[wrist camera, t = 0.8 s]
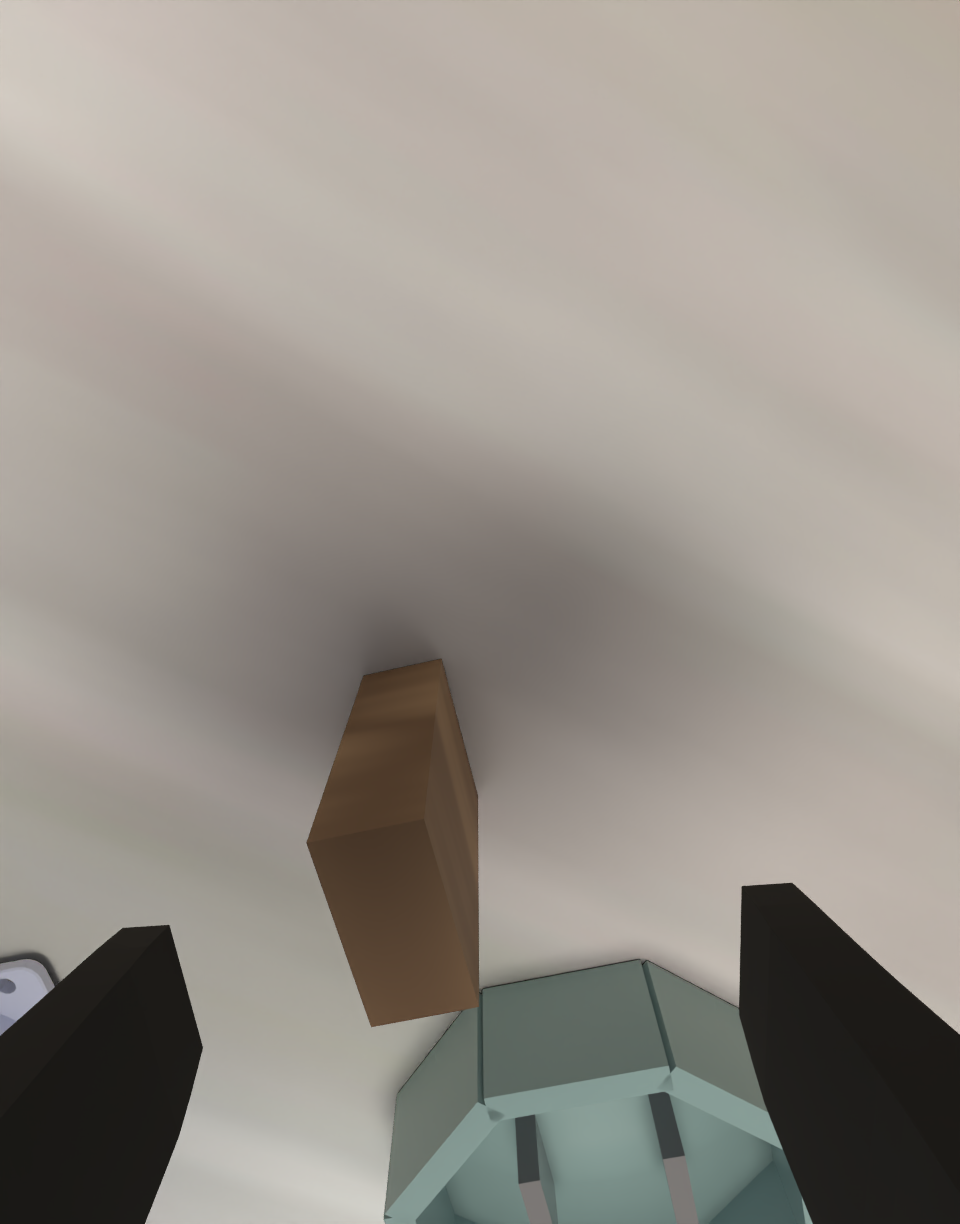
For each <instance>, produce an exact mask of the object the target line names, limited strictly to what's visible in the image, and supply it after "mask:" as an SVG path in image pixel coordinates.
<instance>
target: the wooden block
mask: <svg viewBox="0 0 960 1224" xmlns="http://www.w3.org/2000/svg"><path fill="white" fill-rule="evenodd" d="M307 846H308V849H309V852H310V854H311V857H312V860H313V863H314V866H315V869H316V871H317V874H318V877H319V880H320V883H321V886H322V888H323V891H324V894H325V897H326V900H327V903H328V905H329V908H330V911H331V914H332V917H333V920H334V923H335V925H336V928H337V931H338V934H339V937H340V940H341V942H342V945H343V948H344V951H345V954H346V957H347V959H348V962H349V965H350V968H351V971H352V974H353V977H354V979H355V982H356V985H357V988H358V991H359V994H360V996H361V999H362V1002H363V1005H364V1008H365V1011H366V1013H367V1016H368V1019H369V1022H370V1025H371V1027H374V1026H380V1025H385V1024H390V1023H396V1022H401V1021H407V1020H412V1019H417V1018H423V1017H428V1016H433V1015H439V1014H444V1013H449V1012H455V1011H460V1010H466V1009H471V1008H476V1007H479V902H478V795H477V791H476V787H475V783H474V780H473V776H472V772H471V768H470V765H469V761H468V757H467V753H466V749H465V746H464V742H463V738H462V734H461V731H460V727H459V723H458V719H457V716H456V712H455V708H454V704H453V700H452V697H451V693H450V689H449V685H448V682H447V678H446V674H445V670H444V666H443V663H442V659H438V660H433V661H429V662H424V663H420V664H415V665H410V666H406V667H401V668H396V669H392V670H387V671H383V672H378V673H373V674H369V675H364V676H363V679H362V681H361V684H360V687H359V690H358V693H357V696H356V699H355V702H354V705H353V708H352V711H351V714H350V717H349V720H348V723H347V725H346V728H345V731H344V734H343V737H342V740H341V743H340V746H339V749H338V752H337V755H336V758H335V761H334V764H333V767H332V769H331V772H330V775H329V778H328V781H327V784H326V787H325V790H324V793H323V796H322V799H321V802H320V805H319V808H318V810H317V813H316V816H315V819H314V822H313V825H312V828H311V831H310V834H309V837H308V840H307Z"/></svg>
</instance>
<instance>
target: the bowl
mask: <svg viewBox="0 0 960 1224" xmlns="http://www.w3.org/2000/svg"><path fill="white" fill-rule="evenodd" d="M384 1222H385V1224H813V1223H812V1221H811V1218H810V1216H809V1213H808V1211H807V1208H806V1206H805V1203H804V1201H803V1198H802V1196H801V1193H800V1191H799V1189H798V1186H797V1184H796V1181H795V1179H794V1176H793V1174H792V1171H791V1169H790V1166H789V1164H788V1161H787V1159H786V1156H785V1154H784V1151H783V1149H782V1146H781V1144H780V1141H779V1139H778V1136H777V1134H776V1131H775V1129H774V1126H773V1124H772V1121H771V1119H770V1116H769V1114H768V1111H767V1108H766V1106H765V1103H764V1100H763V1097H762V1094H761V1090H760V1087H759V1083H758V1080H757V1077H756V1073H755V1070H754V1067H753V1063H752V1060H751V1056H750V1053H749V1049H748V1045H747V1042H746V1038H745V1035H744V1031H743V1027H742V1024H741V1020H740V1017H739V1009H738V1008H737V1007H735V1006H733V1005H731V1004H729V1003H727V1002H725V1001H723V1000H721V999H719V998H717V997H716V996H714V995H712V994H710V993H708V992H706V991H704V990H702V989H700V988H698V987H696V986H695V985H693V984H691V983H689V982H687V981H685V980H683V979H681V978H679V977H677V976H675V975H674V974H672V973H670V972H668V971H666V970H664V969H662V968H660V967H658V966H656V965H654V964H653V963H651V962H649V961H646V962H645V963H644V964H643V965H642V964H641V961H640V960H635V961H630V962H624V963H619V964H614V965H608V966H603V967H598V968H592V969H587V970H582V971H576V972H571V973H566V974H561V975H555V976H550V977H545V978H539V979H534V980H529V981H523V982H518V983H513V984H507V985H502V986H497V987H491V988H486V989H483V995H482V994H480V993H479V1007H476V1008H471V1009H466V1010H463V1011H462V1012H461V1014H460V1015H459V1016H458V1017H457V1019H456V1020H455V1021H454V1023H453V1024H452V1025H451V1026H450V1028H449V1029H448V1030H447V1031H446V1033H445V1034H444V1035H443V1037H442V1038H441V1039H440V1040H439V1042H438V1043H437V1044H436V1046H435V1047H434V1048H433V1049H432V1051H431V1052H430V1053H429V1054H428V1056H427V1057H426V1058H425V1060H424V1061H423V1062H422V1063H421V1065H420V1066H419V1067H418V1069H417V1070H416V1071H415V1072H414V1074H413V1075H412V1076H411V1078H410V1079H409V1080H408V1081H407V1083H406V1084H405V1085H404V1086H403V1088H402V1089H401V1090H400V1092H399V1093H398V1094H397V1099H396V1107H395V1116H394V1126H393V1135H392V1145H391V1154H390V1164H389V1173H388V1183H387V1192H386V1202H385V1211H384Z"/></svg>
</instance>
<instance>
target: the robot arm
mask: <svg viewBox="0 0 960 1224" xmlns="http://www.w3.org/2000/svg"><path fill="white" fill-rule="evenodd" d="M7 979H9V980H11V981H13V982H14V983H13V982H10V981H8V980H7ZM739 1017H740V1020H741V1024H742V1027H743V1031H744V1035H745V1038H746V1042H747V1045H748V1049H749V1053H750V1056H751V1060H752V1063H753V1067H754V1070H755V1073H756V1077H757V1080H758V1083H759V1087H760V1090H761V1094H762V1097H763V1100H764V1103H765V1106H766V1108H767V1111H768V1114H769V1116H770V1119H771V1121H772V1124H773V1126H774V1129H775V1131H776V1134H777V1136H778V1139H779V1141H780V1144H781V1146H782V1149H783V1151H784V1154H785V1156H786V1159H787V1161H788V1164H789V1166H790V1169H791V1171H792V1174H793V1176H794V1179H795V1181H796V1184H797V1186H798V1189H799V1191H800V1193H801V1196H802V1198H803V1201H804V1203H805V1206H806V1208H807V1211H808V1213H809V1216H810V1218H811V1221H812V1223H813V1224H960V1034H958V1033H957V1032H956V1031H955V1030H954V1029H953V1028H951V1027H950V1026H949V1025H948V1024H947V1023H946V1022H944V1021H943V1020H942V1019H941V1018H940V1017H939V1016H938V1015H936V1014H935V1013H934V1012H933V1011H932V1010H931V1009H930V1008H928V1007H927V1006H926V1005H925V1004H924V1003H923V1002H921V1001H920V1000H919V999H918V998H917V997H916V996H915V995H913V994H912V993H911V992H910V991H909V990H908V989H907V988H905V987H904V986H903V985H902V984H901V983H900V982H899V981H898V980H896V979H895V978H894V977H893V976H892V975H891V974H890V973H889V972H888V971H886V970H885V969H884V968H883V967H882V966H881V965H880V964H879V963H878V962H877V961H875V960H874V959H873V958H872V957H871V956H870V955H869V954H868V953H867V952H866V951H865V950H864V949H863V948H861V947H860V946H859V945H858V944H857V943H856V942H855V941H854V940H853V939H852V938H851V937H850V936H849V935H847V934H846V933H845V932H844V931H843V930H842V929H841V928H840V927H839V926H838V925H837V924H836V923H835V922H834V921H833V920H832V919H831V918H829V917H828V916H827V915H826V914H825V913H824V912H823V911H822V910H821V909H820V908H819V907H818V906H817V905H816V904H815V903H814V902H812V901H811V900H810V899H809V898H808V897H807V896H806V895H805V894H804V893H803V892H802V891H801V890H800V889H798V888H797V887H796V886H795V885H794V884H793V883H782V884H767V885H753V886H742V900H741V947H740V995H739ZM202 1049H203V1046H202V1043H201V1039H200V1035H199V1032H198V1028H197V1024H196V1021H195V1017H194V1013H193V1010H192V1006H191V1002H190V999H189V995H188V991H187V988H186V984H185V980H184V977H183V973H182V969H181V966H180V962H179V959H178V955H177V951H176V948H175V944H174V940H173V937H172V933H171V929H170V926H169V925H161V926H146V927H132V928H122V929H121V930H120V931H119V932H117V933H116V934H115V935H114V936H112V937H111V938H110V939H109V940H108V941H106V942H105V943H104V944H103V945H102V946H101V947H99V948H98V949H97V950H96V951H95V952H94V953H92V954H91V955H90V956H89V957H88V958H87V959H86V960H84V961H83V962H82V963H81V964H80V965H79V966H78V967H77V968H76V969H74V970H73V971H72V972H71V973H70V974H69V975H68V976H67V977H65V978H64V979H63V980H62V981H61V982H60V983H59V984H58V985H57V986H54V984H53V982H52V980H51V978H50V976H49V974H48V972H47V970H46V969H45V968H44V966H43V965H42V964H41V963H39V962H37V961H35V960H31V959H22V960H17V961H12V962H7V963H2V964H0V1224H145V1222H146V1219H147V1217H148V1214H149V1212H150V1209H151V1207H152V1204H153V1202H154V1199H155V1196H156V1194H157V1191H158V1189H159V1186H160V1184H161V1181H162V1179H163V1176H164V1174H165V1171H166V1168H167V1166H168V1163H169V1161H170V1158H171V1156H172V1153H173V1150H174V1148H175V1145H176V1142H177V1140H178V1137H179V1134H180V1131H181V1127H182V1124H183V1120H184V1117H185V1113H186V1110H187V1106H188V1103H189V1099H190V1096H191V1092H192V1088H193V1084H194V1080H195V1077H196V1073H197V1069H198V1065H199V1061H200V1057H201V1053H202Z"/></svg>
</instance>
